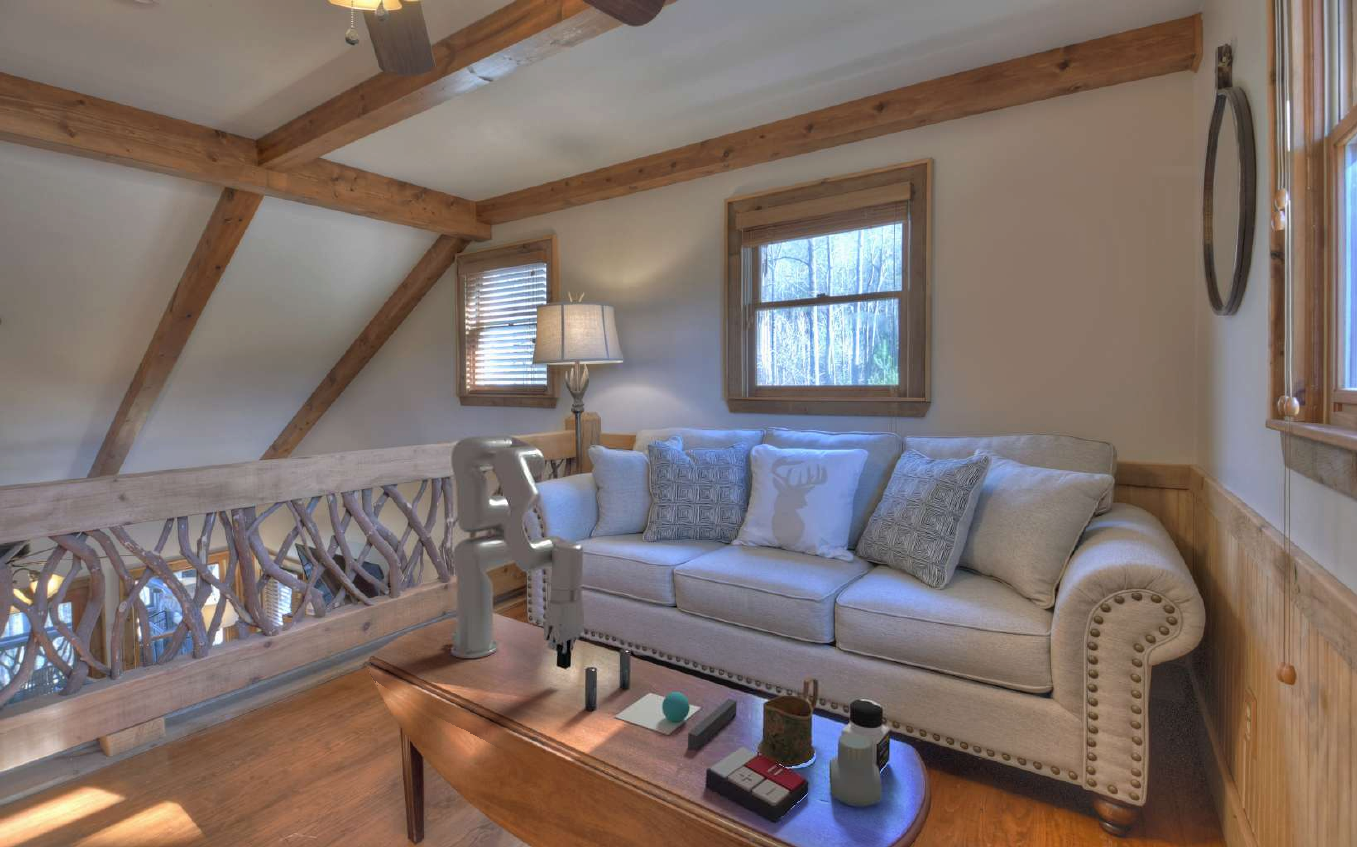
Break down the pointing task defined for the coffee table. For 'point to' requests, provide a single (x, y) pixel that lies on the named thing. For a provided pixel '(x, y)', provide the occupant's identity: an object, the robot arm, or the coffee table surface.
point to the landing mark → (652, 714)
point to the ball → (675, 706)
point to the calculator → (756, 784)
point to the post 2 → (625, 669)
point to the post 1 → (590, 689)
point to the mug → (789, 728)
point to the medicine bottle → (870, 728)
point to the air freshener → (855, 772)
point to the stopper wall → (711, 724)
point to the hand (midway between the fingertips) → (563, 666)
